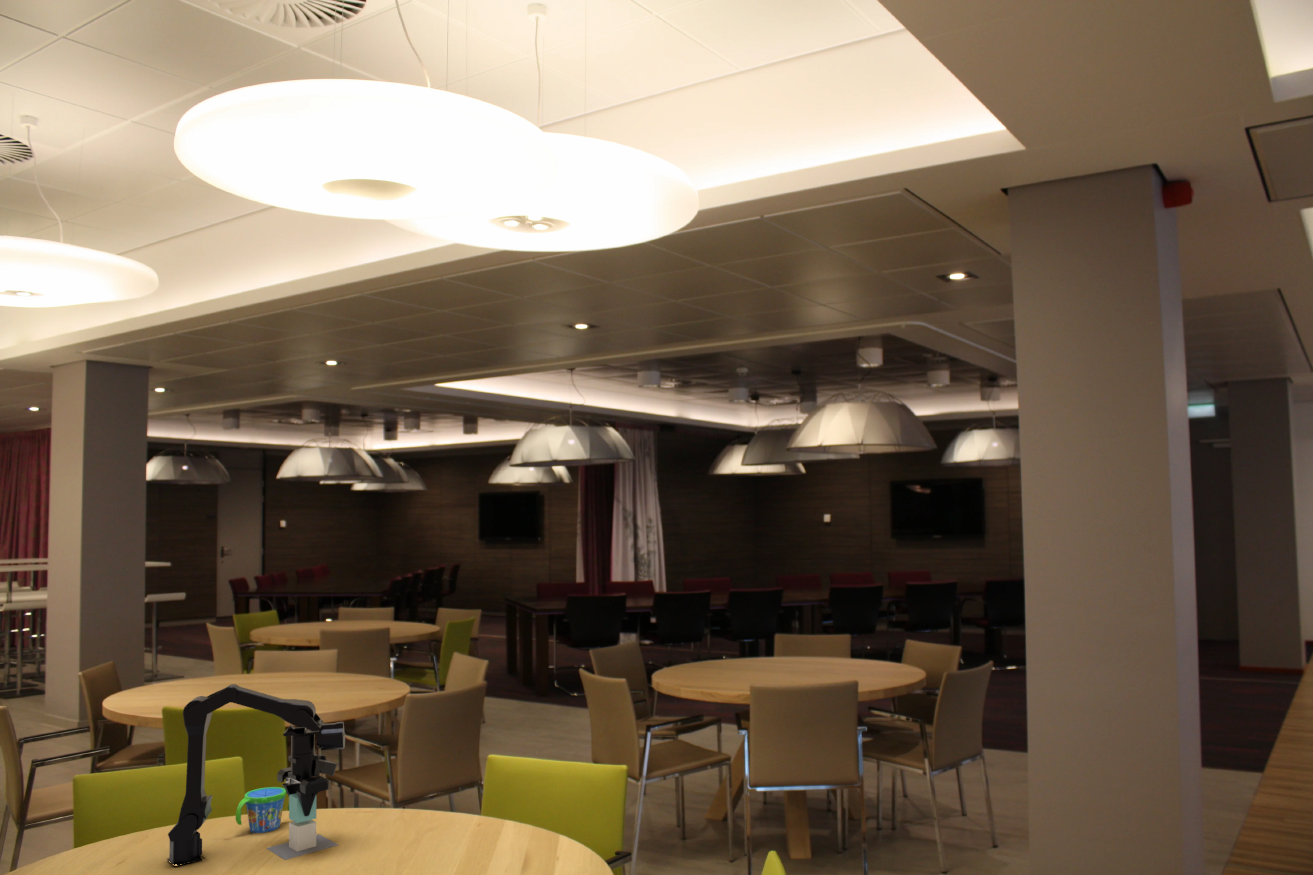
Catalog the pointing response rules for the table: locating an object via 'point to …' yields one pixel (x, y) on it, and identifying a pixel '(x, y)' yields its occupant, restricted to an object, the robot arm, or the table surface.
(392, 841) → the table surface
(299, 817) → the teal block
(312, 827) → the white block
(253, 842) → the table surface
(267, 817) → the snack cup
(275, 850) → the mat
